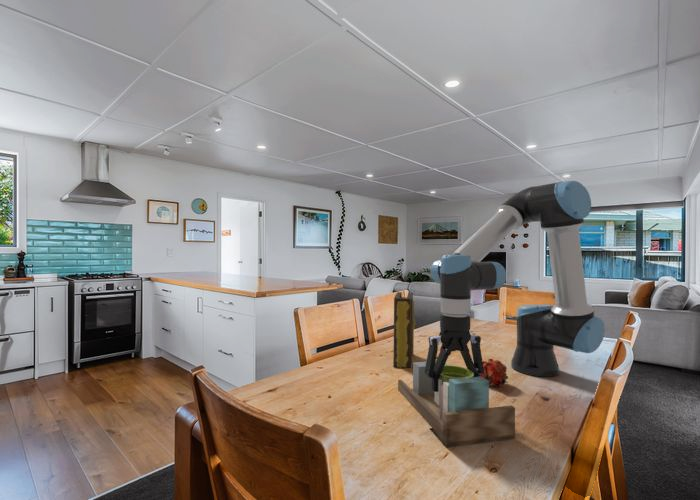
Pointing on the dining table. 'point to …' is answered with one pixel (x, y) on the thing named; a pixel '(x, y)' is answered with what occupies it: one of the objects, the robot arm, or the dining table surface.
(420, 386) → the bookend
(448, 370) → the plant pot
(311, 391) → the dining table surface
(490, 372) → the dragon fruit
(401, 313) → the book
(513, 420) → the book rack
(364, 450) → the dining table surface
